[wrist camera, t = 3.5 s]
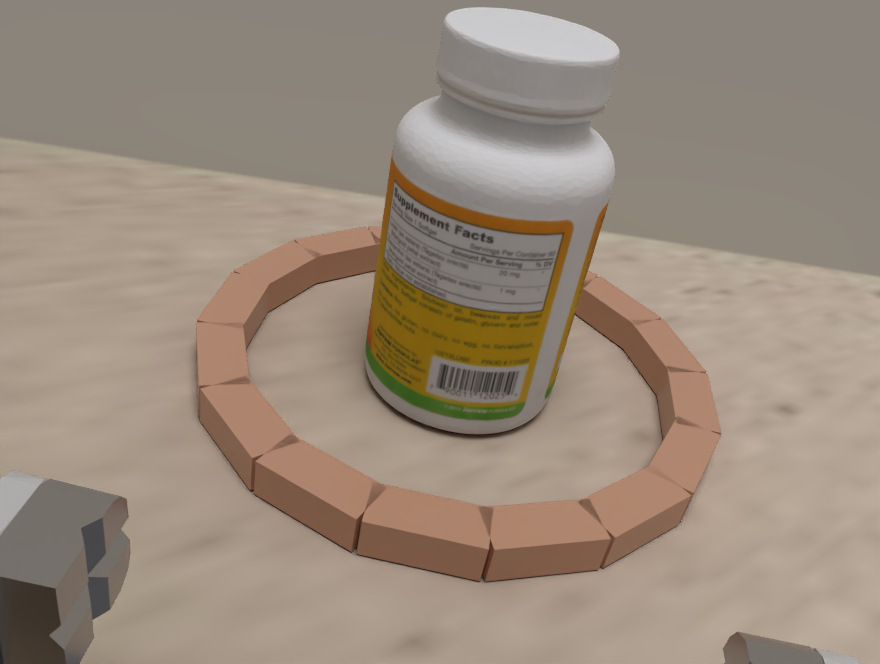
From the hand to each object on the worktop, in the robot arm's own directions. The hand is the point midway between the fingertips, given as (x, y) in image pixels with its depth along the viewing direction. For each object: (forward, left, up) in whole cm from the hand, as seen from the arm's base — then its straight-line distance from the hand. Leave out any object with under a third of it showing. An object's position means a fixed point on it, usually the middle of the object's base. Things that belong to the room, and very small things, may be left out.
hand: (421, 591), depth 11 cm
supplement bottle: (0, +12, -5) cm, 13 cm away
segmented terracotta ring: (0, +12, -5) cm, 13 cm away
